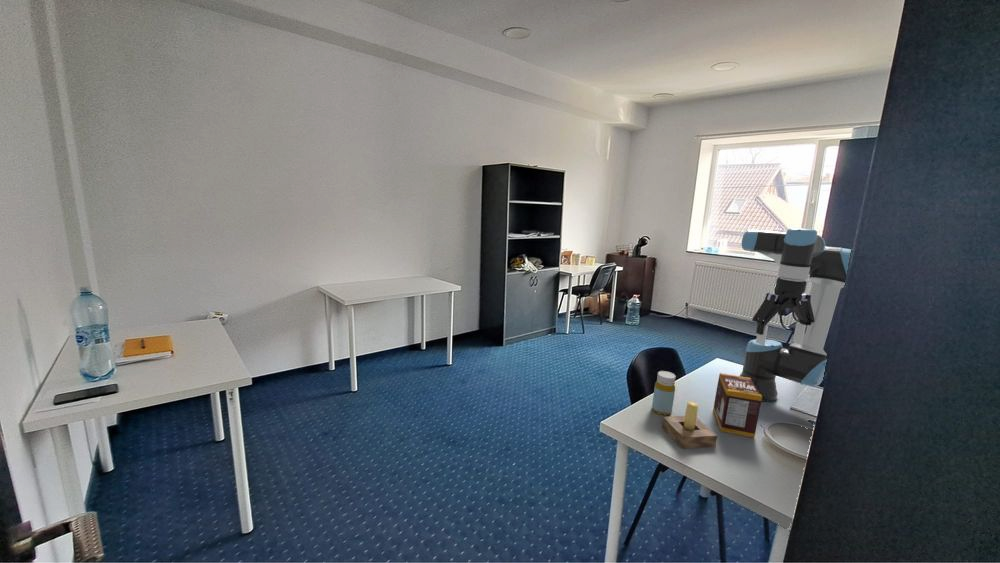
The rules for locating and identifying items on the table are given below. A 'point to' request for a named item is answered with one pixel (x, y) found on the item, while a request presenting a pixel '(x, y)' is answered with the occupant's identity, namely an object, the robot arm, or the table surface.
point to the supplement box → (737, 405)
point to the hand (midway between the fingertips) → (778, 343)
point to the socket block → (689, 433)
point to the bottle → (664, 393)
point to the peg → (690, 416)
